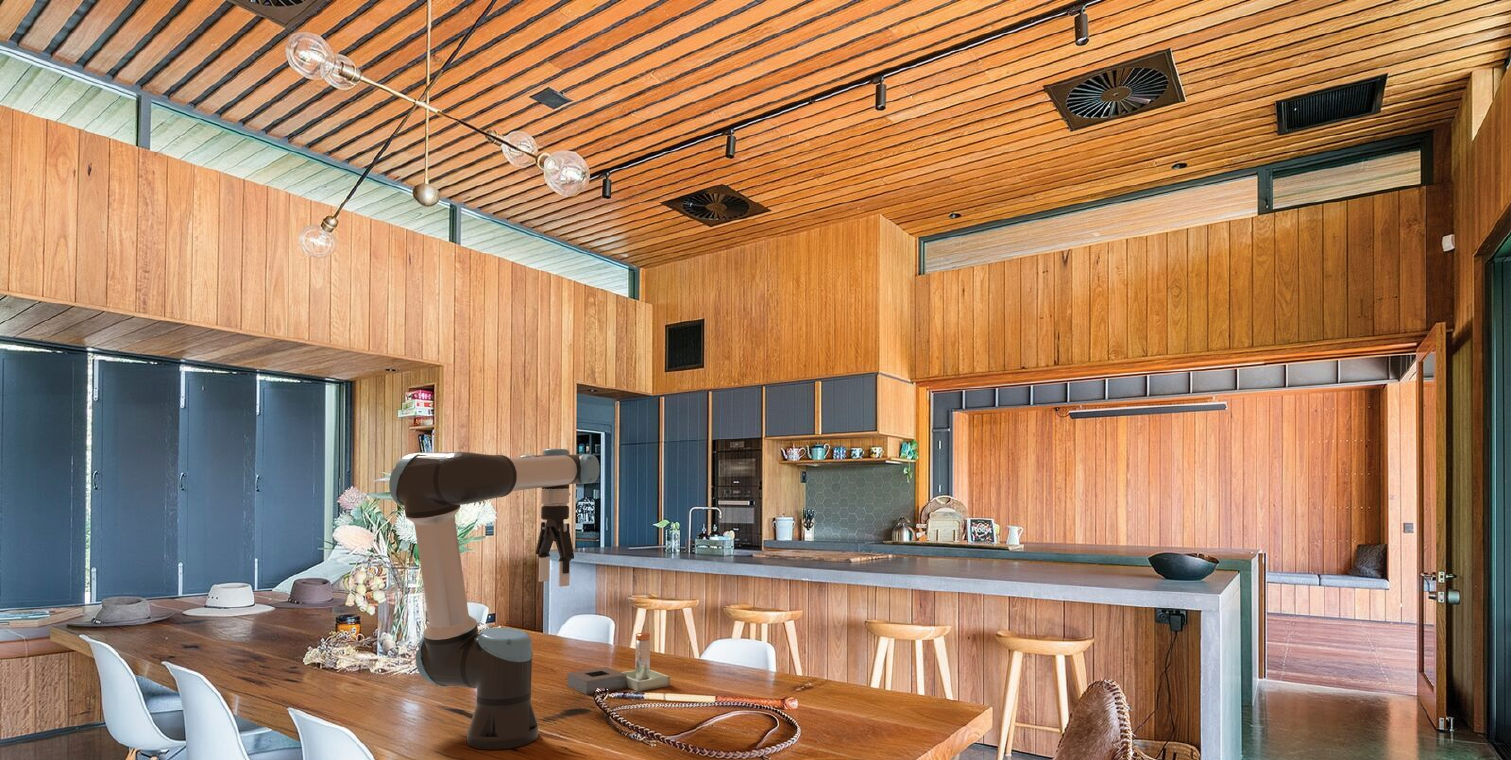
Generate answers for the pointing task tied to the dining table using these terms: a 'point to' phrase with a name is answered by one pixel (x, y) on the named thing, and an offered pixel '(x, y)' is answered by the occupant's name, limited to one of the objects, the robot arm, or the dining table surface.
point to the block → (596, 680)
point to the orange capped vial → (642, 656)
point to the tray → (647, 681)
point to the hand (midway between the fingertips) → (553, 583)
